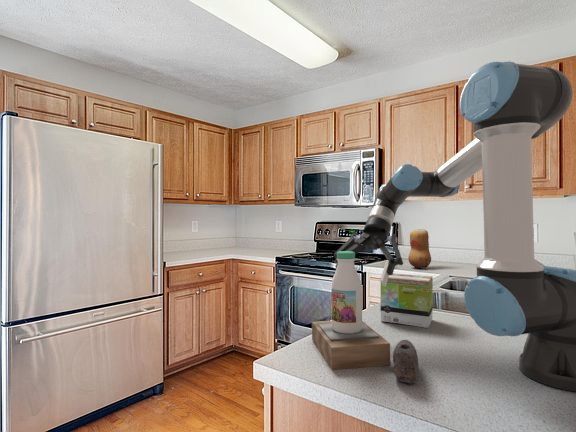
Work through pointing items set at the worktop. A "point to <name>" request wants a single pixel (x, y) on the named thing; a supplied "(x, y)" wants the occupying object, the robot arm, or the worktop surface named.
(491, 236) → the robot arm
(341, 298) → the milk bottle
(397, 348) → the perforated stone tool
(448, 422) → the worktop surface
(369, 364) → the walnut stand
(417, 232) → the butternut squash
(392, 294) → the tea box
